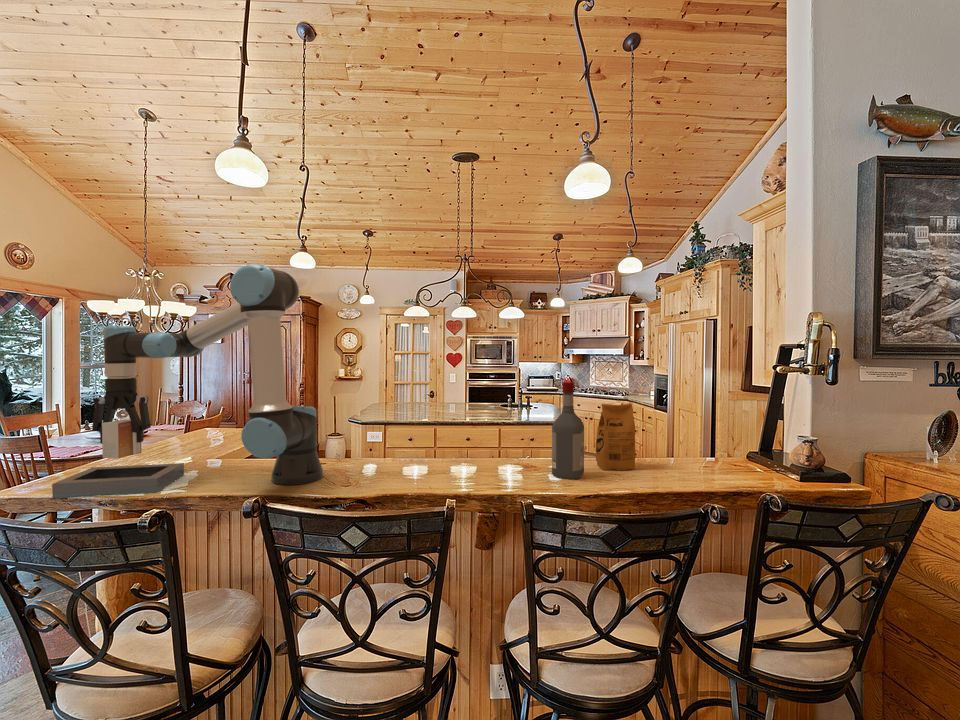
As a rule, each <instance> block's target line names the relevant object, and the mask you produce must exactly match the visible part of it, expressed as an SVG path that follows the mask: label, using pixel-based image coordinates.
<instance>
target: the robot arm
mask: <svg viewBox="0 0 960 720" xmlns="http://www.w3.org/2000/svg"><path fill="white" fill-rule="evenodd" d="M229 284H230V285H229V291H230V294H231V296H232V298H233V299H234V300H235V302H236V303H235V304H234V303H233V304H232V305H231V306H228V307H226V308H225V309H223V310H221V311H219V312H217V313H215V314H213V315H212V316H210V317H208V318H206V319H203V320H202V321H199V322H198V323H196V324H194V325H192V326H190V327H189V328H186V329H185V330H183V331H181V332H177V333H176V332H174V333H173V332H172V333H171V332H163V331H154V332H153V331H152V332H149V331H148V332H137V331H136V327H135V326H133V325H107V326H106V327H105V328H104V333H103V339H102V340H103V346H104V347H103V350H104V355H103V356H104V377H106V378H105V380H104V390H105V394H104V395H103V396H99V397H94V398H93V399H92V402H93V404H94V410H93V418H92V428H91V430H92V432H98V433H99V436H100V438H99V440H100V444H101V445H102V423H105V422H112V421H114V418H115V416H116V413H117V412H118V409H122V410H125V412H126V413H127V414H128V417H129V419H131V422H132V424H133V426H134V428H135V431H134V432H133V454H135V455H138V453H140V452H141V453H142V445H141V446H140V442H141V443H143V442H144V440H145V439H144V433H145V431H146V430H148V429H151V428H152V427H151V426H152V425H151V421H150V420H151V419H150V414H149V413H150V412H149V407H148V402H149V397H148V396H147V395H146V396H143V395H142V396H141V395H138V392H137V389H138V385H137V383H138V380H137V378H136V376H137V358H138V359H139V358H140V359H144V358H146V359H149V358H150V359H164V358H192V357H197V356H200V354H202V352H203V351H204V349H205V348H206V347H209V346H211V345H212V344H215V343H217V342H218V341H220V340H222V339H224V338H226V337H228V336H230V335H232V334H234V333H235V332H237V331H240V330H242V329H244V328H245V327H247V336H248V347H249V348H248V349H249V358H250V360H249V361H250V374H251V386H252V398H253V405H252V406H251V407H250V408H249V410H247V411H248V414H247V415H248V421H247V422H246V424H245V425H244V426H243V427H242V428H241V429H242V430H241V435H240V436H241V442H242V444H243V446H244V448H245V450H246V451H247V452H249V453H250V454H251V455H252V456H254V457H256V458H259V459H270V458H273V457H276V459H275V462H274V465H273V469H272V472H271V482H272V483H273V484H276V485H282V486H283V485H284V486H285V485H287V486H293V485H302V484H303V485H305V484H308V483H313V482H315V481H318V480H320V479H322V478H323V476H324V473H323V472H324V468H323V465H322V463H321V460H320V457H319V455H318V450H317V448H318V447H317V446H318V444H317V440H318V439H317V434H318V432H317V425H318V422H317V419H318V417H317V409H316V408H315V407H314V406H307V405H305V406H303V405H302V406H301V405H300V406H299V405H298V406H296V405H295V406H294V405H291V403H289V402H288V401H287V391H286V381H285V379H286V378H285V365H284V352H283V351H284V350H283V338H282V336H283V335H282V324H281V323H282V322H281V320H282V317H284V316H285V315H286V310H288V309H290V308H292V306H293V305H295V304H296V302H297V300H298V298H299V292H300V290H299V285H298V283H297V281H296V279H294V277H293V276H292V275H291V274H289V273H287V272H285V271H282V270H279V269H274V268H271V267H268V265H267V266H266V265H265V264H255V263H249V264H246V265H242V266H241V267H239V268H238V269H237V270H236V272H234V274H233V275H232V277H231V280H230V283H229ZM136 401H137V403H138V411H139V414H138V411H137V407H136V405H135V403H136ZM105 403H107V405H108V406H107V409H106V412H105V411H104V410H105ZM104 412H105V415H104ZM140 419H141V420H140ZM141 453H140V454H141Z"/></svg>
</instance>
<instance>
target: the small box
mask: <svg viewBox="0 0 960 720" xmlns="http://www.w3.org/2000/svg"><path fill="white" fill-rule="evenodd" d="M140 420H141V418H140ZM134 431H135V428H134V426H133V424H132V422H131V419H130V418H124V419H119V420H112V422H105V423H103V422H102V444H101V445H102V446H101V447H102V459H122V458H125V457H129V456H134V455H136V454H133V432H134ZM140 446H141V447H142V442H140ZM138 454H142V451H141V452H140V453H138ZM138 454H137V455H138Z"/></svg>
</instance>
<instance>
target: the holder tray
mask: <svg viewBox="0 0 960 720" xmlns="http://www.w3.org/2000/svg"><path fill="white" fill-rule="evenodd" d="M184 476H185V463H184V462H181V463H178V462H177V463H161V464H159V463H158V464H140V465H117V466H116V465H115V466H112V465H111V466H98V467H97V466H95V467H94V466H93V467H90V468H88V469H85V470H83V471H81V472H77V473H75V474H73V475H70V476H68V477H66V478H64V479H63V478H62V479H60V480H59V481H55V482H54V483H52V484H51V486H52V487H51V488H52V489H51V490H52V493H51V494H52V495H51V496H52V499H59V498H61V499H62V498H78V497H81V496H83V497H97V496H96V495H101V496H114V495H115V496H116V495H117V496H119V495H131V494H132V495H135V494H152V493H158V492H161V490H163V489H165V488H167V487H168V486H170V485H172V484H173V483H174V482H176V481H178V480H179V479H181V478H182V477H184ZM180 477H181V478H180ZM177 479H178V480H177ZM175 480H176V481H175ZM172 482H173V483H172ZM94 495H95V496H94ZM81 498H82V497H81Z"/></svg>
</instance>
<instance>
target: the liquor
mask: <svg viewBox="0 0 960 720" xmlns="http://www.w3.org/2000/svg"><path fill="white" fill-rule="evenodd" d="M574 393H575V382H572V381H570V382H569V381H565V382H562V409H561V413H560V414H559V416H558V417H557V418H556V419H555V420H554V421H553V423H552V426H551V474H552V476H553V477H554V478H556V479H563V480H571V481H573V480H574V481H575V480H579V479H581V478H582V477H583V475H584V473H585V425H584V423H583V421H582V419H580V418H579V416H578V414H576V413H575V409H574Z"/></svg>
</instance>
